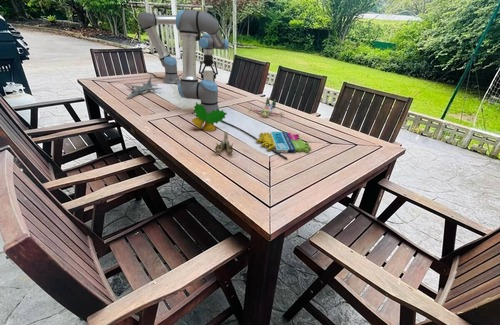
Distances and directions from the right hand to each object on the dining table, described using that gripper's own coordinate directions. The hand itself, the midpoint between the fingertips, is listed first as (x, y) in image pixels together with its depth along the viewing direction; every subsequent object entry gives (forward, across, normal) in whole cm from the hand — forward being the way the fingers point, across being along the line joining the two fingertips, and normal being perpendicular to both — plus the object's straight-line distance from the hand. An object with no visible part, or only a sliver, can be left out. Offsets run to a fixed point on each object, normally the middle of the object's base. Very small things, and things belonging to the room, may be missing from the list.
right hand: (208, 82), depth 227 cm
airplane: (+11, +56, -2) cm, 57 cm away
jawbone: (+11, -7, +111) cm, 111 cm away
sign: (+11, -41, +101) cm, 109 cm away
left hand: (-15, +11, -68) cm, 71 cm away
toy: (+11, -44, +45) cm, 64 cm away
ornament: (+11, 0, +79) cm, 80 cm away
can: (+4, 0, 0) cm, 4 cm away
